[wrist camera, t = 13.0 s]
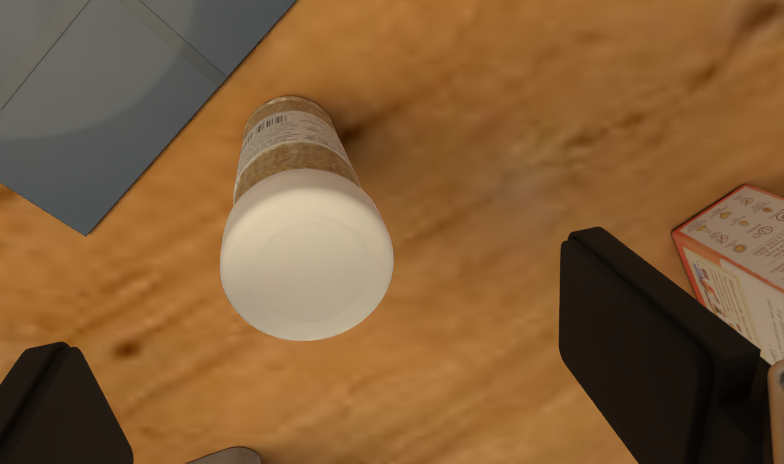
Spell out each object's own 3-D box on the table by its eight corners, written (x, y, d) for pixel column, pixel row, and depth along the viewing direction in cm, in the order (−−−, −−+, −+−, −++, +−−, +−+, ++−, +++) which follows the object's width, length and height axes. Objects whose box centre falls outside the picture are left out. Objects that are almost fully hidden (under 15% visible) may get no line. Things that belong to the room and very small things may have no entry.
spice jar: (268, 198, 26) (266, 372, 14) (225, 114, 24) (180, 236, 12) (352, 163, 26) (419, 307, 14) (316, 77, 24) (361, 162, 12)
